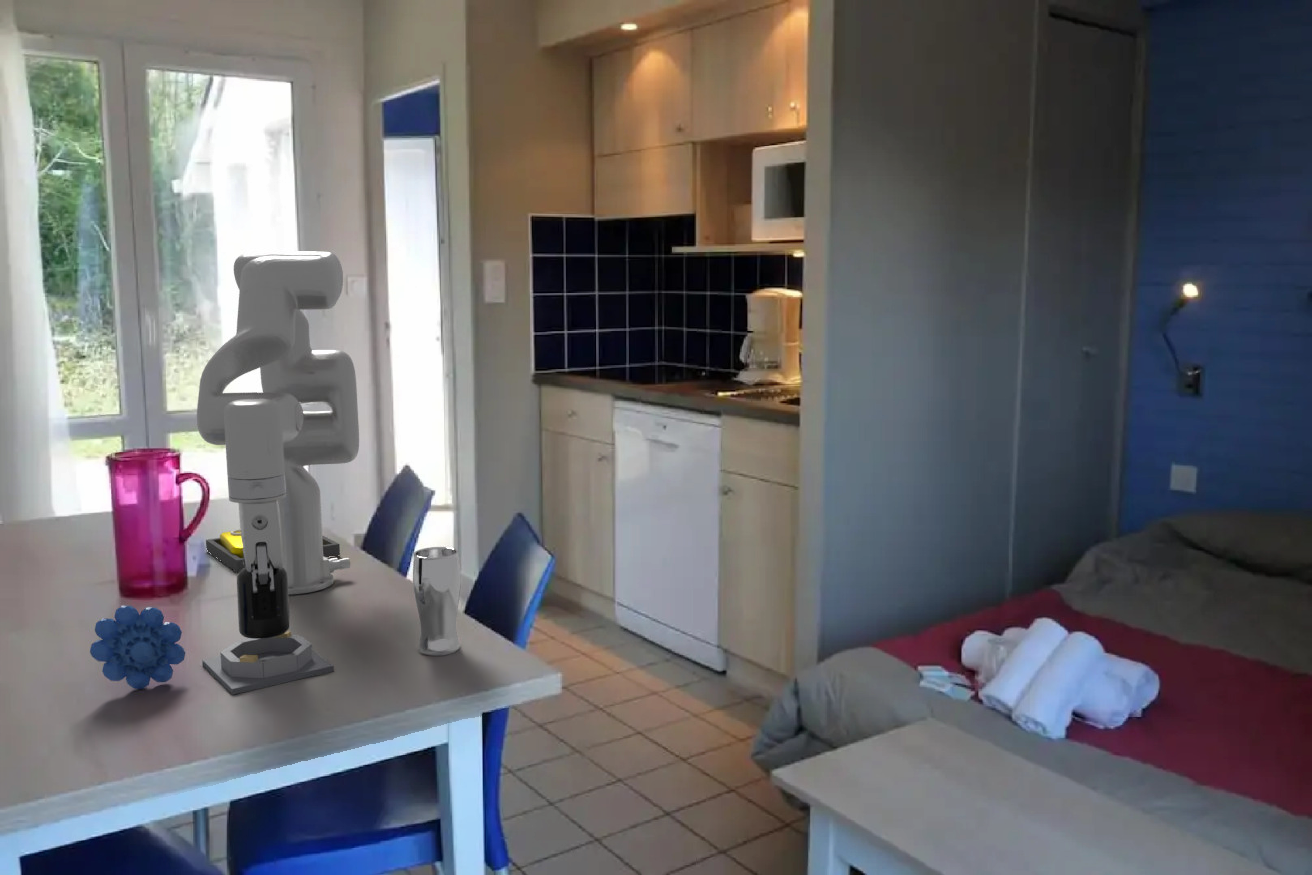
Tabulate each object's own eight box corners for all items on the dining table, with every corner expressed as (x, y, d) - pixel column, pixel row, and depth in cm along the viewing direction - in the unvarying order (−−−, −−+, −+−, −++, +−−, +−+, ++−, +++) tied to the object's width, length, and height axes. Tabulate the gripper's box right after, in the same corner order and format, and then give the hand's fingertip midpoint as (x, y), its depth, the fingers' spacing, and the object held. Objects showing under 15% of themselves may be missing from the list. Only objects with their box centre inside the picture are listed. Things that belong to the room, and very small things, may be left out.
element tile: (233, 570, 206) (232, 546, 206) (219, 553, 219) (217, 530, 218) (313, 559, 214) (311, 535, 213) (294, 543, 227) (293, 521, 226)
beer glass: (422, 660, 157) (419, 560, 155) (410, 645, 163) (406, 549, 161) (468, 652, 160) (465, 554, 158) (454, 638, 166) (451, 544, 164)
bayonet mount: (298, 644, 164) (297, 621, 163) (333, 671, 153) (332, 646, 152) (202, 665, 155) (200, 641, 155) (232, 694, 144) (231, 669, 144)
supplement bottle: (263, 642, 149) (258, 558, 147) (228, 635, 152) (223, 552, 150) (300, 628, 155) (296, 547, 153) (266, 621, 158) (262, 541, 156)
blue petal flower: (99, 708, 140) (91, 620, 138) (91, 692, 145) (83, 606, 143) (194, 688, 146) (188, 604, 144) (183, 674, 152) (177, 592, 150)
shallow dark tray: (303, 536, 230) (303, 525, 230) (339, 556, 215) (339, 543, 214) (206, 551, 218) (205, 539, 218) (237, 573, 203) (236, 560, 202)
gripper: (288, 497, 143) (295, 626, 146) (282, 475, 159) (288, 591, 162) (228, 502, 141) (236, 633, 143) (228, 478, 157) (235, 596, 159)
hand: (264, 609), depth 153 cm, fingers closed on supplement bottle, 6 cm apart
